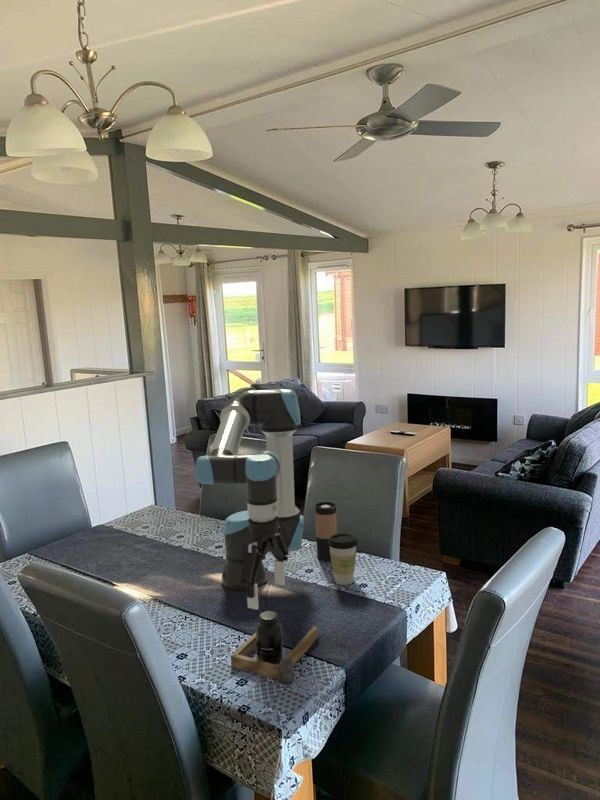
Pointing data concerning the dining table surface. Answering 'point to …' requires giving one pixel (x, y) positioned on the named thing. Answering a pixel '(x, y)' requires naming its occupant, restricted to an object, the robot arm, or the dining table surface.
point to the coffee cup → (343, 557)
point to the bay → (267, 669)
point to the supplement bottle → (269, 638)
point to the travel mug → (325, 528)
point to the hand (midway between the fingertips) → (267, 595)
